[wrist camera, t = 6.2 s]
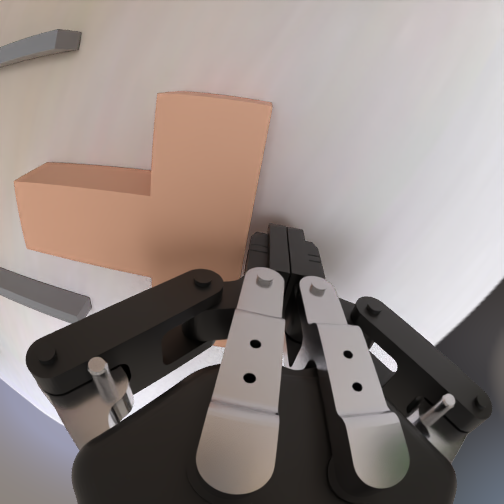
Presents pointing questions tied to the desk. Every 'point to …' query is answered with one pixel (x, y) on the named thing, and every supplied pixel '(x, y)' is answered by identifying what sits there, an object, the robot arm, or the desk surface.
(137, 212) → the T block
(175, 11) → the desk surface
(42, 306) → the charcoal bay
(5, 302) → the desk surface
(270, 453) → the robot arm
